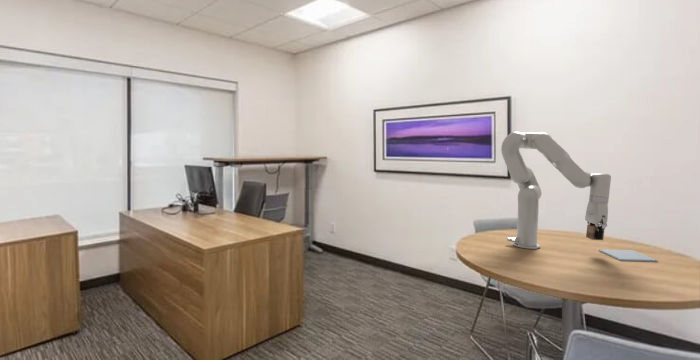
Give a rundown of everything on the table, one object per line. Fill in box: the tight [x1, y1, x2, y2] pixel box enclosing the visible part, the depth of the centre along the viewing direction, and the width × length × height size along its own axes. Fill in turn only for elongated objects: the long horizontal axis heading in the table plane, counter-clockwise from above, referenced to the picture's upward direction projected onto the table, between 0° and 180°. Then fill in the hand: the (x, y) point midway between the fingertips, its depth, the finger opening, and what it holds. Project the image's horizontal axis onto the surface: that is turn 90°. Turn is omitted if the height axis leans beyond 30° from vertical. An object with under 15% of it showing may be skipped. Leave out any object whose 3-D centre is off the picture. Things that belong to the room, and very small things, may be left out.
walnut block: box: [585, 224, 605, 241], centre depth 174 cm, size 5×5×6 cm
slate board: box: [598, 248, 658, 263], centre depth 173 cm, size 16×16×1 cm
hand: (594, 237), depth 174 cm, fingers closed on walnut block, 5 cm apart
